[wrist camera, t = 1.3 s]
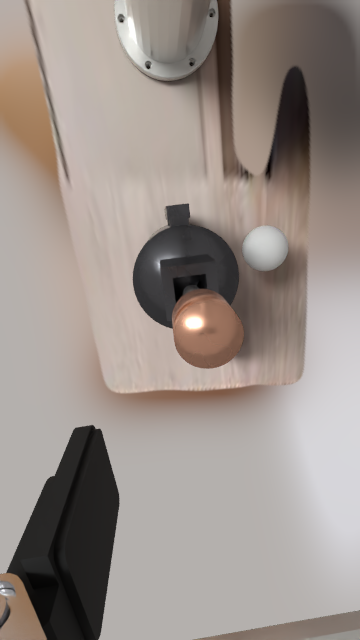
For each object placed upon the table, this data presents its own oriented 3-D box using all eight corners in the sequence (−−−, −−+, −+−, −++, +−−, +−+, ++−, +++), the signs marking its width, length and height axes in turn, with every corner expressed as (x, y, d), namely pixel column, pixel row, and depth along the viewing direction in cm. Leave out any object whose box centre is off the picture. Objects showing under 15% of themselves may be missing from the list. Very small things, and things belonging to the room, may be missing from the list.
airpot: (133, 212, 45) (113, 210, 25) (210, 203, 46) (249, 193, 26) (149, 315, 50) (142, 380, 31) (218, 307, 51) (256, 365, 31)
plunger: (166, 274, 27) (170, 307, 17) (211, 268, 27) (242, 298, 17) (171, 317, 28) (178, 372, 18) (215, 311, 28) (245, 363, 18)
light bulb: (274, 252, 48) (302, 261, 39) (240, 269, 49) (259, 282, 40) (260, 217, 47) (286, 217, 37) (225, 235, 47) (241, 240, 38)
